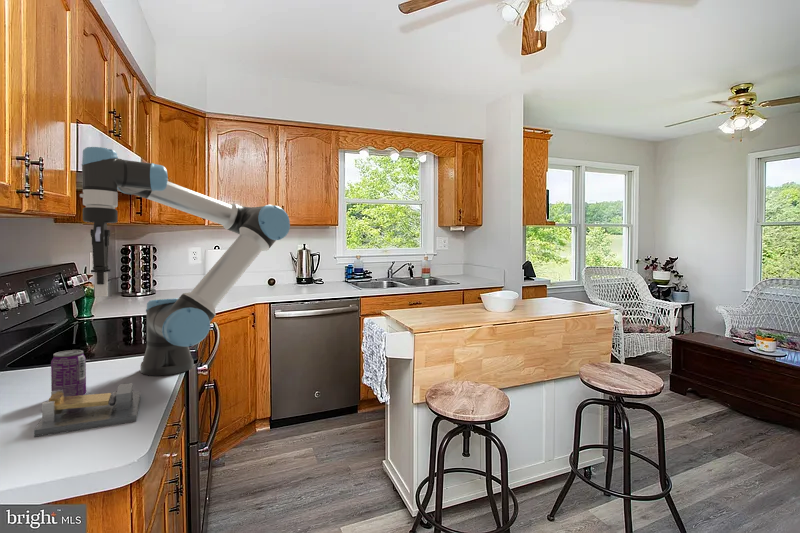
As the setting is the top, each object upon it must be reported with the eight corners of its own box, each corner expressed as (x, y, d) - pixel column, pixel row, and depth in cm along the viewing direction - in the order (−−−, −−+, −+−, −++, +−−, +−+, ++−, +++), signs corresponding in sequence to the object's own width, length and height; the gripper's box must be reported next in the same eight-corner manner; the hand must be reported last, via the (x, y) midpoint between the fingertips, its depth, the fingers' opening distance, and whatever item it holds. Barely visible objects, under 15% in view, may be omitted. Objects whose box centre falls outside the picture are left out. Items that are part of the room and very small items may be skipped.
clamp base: (54, 407, 103) (53, 385, 103) (140, 396, 112) (140, 376, 112) (34, 437, 87) (33, 411, 87) (136, 421, 96) (136, 397, 96)
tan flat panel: (53, 401, 99) (54, 391, 99) (118, 396, 105) (118, 386, 105) (46, 411, 93) (47, 401, 93) (115, 405, 99) (115, 395, 99)
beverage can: (81, 391, 115) (81, 348, 114) (89, 397, 110) (89, 352, 110) (48, 398, 109) (47, 352, 109) (55, 405, 105) (54, 357, 104)
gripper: (86, 208, 115) (87, 294, 116) (78, 204, 104) (79, 299, 105) (119, 210, 119) (120, 293, 120) (114, 206, 107) (115, 298, 108)
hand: (101, 296), depth 112 cm, fingers closed
